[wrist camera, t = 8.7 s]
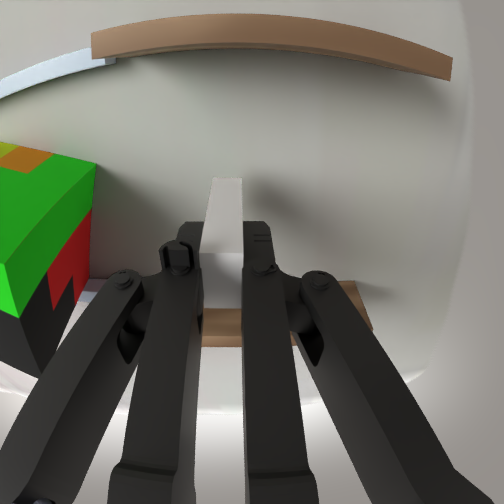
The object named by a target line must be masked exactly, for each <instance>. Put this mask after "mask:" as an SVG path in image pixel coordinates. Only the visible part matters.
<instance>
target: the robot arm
mask: <svg viewBox="0 0 504 504" xmlns="http://www.w3.org/2000/svg"><path fill="white" fill-rule="evenodd" d="M159 254H160V260H161V265H162V271H161V272H160V273H158V274H156V275H152V276H148V277H144V278H141V276H140V275H139V274H138V272H136V271H133V270H121V271H118V272H116V273H114V274H113V275H112V276H110V277H109V278H108V280H107V281H106V282H105V284H104V285H103V286H102V287H101V289H100V290H99V291H98V293H97V294H96V295H95V297H94V298H93V299H92V301H91V302H90V303H89V305H88V306H87V308H86V309H85V310H84V312H83V313H82V314H81V316H80V317H79V319H78V320H77V322H76V323H75V324H74V326H73V327H72V329H71V330H70V332H69V333H68V334H67V336H66V337H65V339H64V340H63V342H62V343H61V345H60V346H59V348H58V349H57V351H56V352H55V354H54V356H53V357H52V359H51V360H50V362H49V363H48V365H47V366H46V368H45V370H44V371H43V373H42V375H41V376H40V378H39V379H38V381H37V383H36V384H35V386H34V388H33V389H32V391H31V393H30V395H29V396H28V398H27V400H26V402H25V403H24V405H23V407H22V409H21V411H20V412H19V414H18V416H17V418H16V420H15V422H14V424H13V426H12V427H11V429H10V431H9V433H8V435H7V437H6V439H5V441H4V443H3V445H2V448H1V450H0V504H72V503H73V502H74V500H75V498H76V496H77V494H78V492H79V490H80V488H81V486H82V483H83V481H84V478H85V476H86V474H87V471H88V469H89V467H90V464H91V462H92V460H93V458H94V455H95V453H96V450H97V448H98V446H99V444H100V442H101V440H102V437H103V435H104V433H105V431H106V429H107V426H108V424H109V422H110V420H111V418H112V416H113V414H114V412H115V409H116V407H117V405H118V403H119V401H120V399H121V397H122V395H123V393H124V391H125V389H126V387H127V385H128V383H129V381H130V379H131V377H132V375H133V373H134V371H135V369H136V367H137V365H138V367H137V372H136V377H135V382H134V387H133V392H132V397H131V403H130V408H129V414H128V420H127V426H126V432H125V439H124V446H123V453H122V458H121V460H120V462H119V463H118V464H117V465H116V466H115V467H114V468H113V470H112V472H111V476H110V481H109V490H108V500H107V504H196V492H195V487H194V466H195V440H196V418H197V401H198V385H199V371H200V358H201V345H202V333H203V322H204V316H203V303H204V308H241V336H242V387H243V428H244V460H245V462H244V463H245V504H319V498H318V490H317V484H316V480H315V477H314V474H313V473H312V471H311V470H310V468H309V465H308V459H307V451H306V443H305V435H304V427H303V420H302V412H301V405H300V397H299V390H298V383H297V376H296V369H295V362H294V356H293V349H292V342H291V336H290V331H291V332H292V336H293V338H294V340H295V342H296V344H297V346H298V348H299V350H300V352H301V355H302V357H303V359H304V361H305V363H306V365H307V367H308V370H309V372H310V374H311V376H312V378H313V380H314V382H315V384H316V387H317V389H318V391H319V393H320V395H321V397H322V399H323V401H324V404H325V406H326V408H327V410H328V412H329V414H330V416H331V418H332V421H333V423H334V425H335V426H336V429H337V431H338V433H339V435H340V438H341V439H342V442H343V444H344V446H345V448H346V450H347V453H348V454H349V457H350V459H351V461H352V463H353V465H354V467H355V470H356V472H357V474H358V476H359V478H360V480H361V482H362V484H363V486H364V489H365V491H366V493H367V495H368V497H369V499H370V500H371V502H372V504H494V503H493V501H492V500H491V499H490V498H489V497H488V496H486V495H485V494H484V493H483V492H482V491H480V490H479V489H478V488H477V487H476V486H474V485H473V484H472V483H471V482H469V481H468V480H467V479H466V478H465V477H464V476H462V475H461V474H460V473H459V472H458V471H456V470H455V469H454V468H453V465H452V464H451V462H450V460H449V458H448V456H447V454H446V452H445V451H444V449H443V447H442V445H441V443H440V442H439V440H438V438H437V436H436V434H435V433H434V431H433V429H432V428H431V426H430V424H429V422H428V421H427V419H426V417H425V415H424V414H423V412H422V410H421V409H420V407H419V405H418V404H417V402H416V400H415V399H414V397H413V395H412V394H411V392H410V390H409V389H408V387H407V385H406V384H405V382H404V381H403V379H402V377H401V376H400V374H399V373H398V371H397V369H396V368H395V366H394V365H393V363H392V362H391V360H390V358H389V357H388V355H387V354H386V352H385V351H384V349H383V348H382V346H381V344H380V343H379V341H378V340H377V338H376V337H375V335H374V334H373V332H372V331H371V329H370V328H369V326H368V325H367V323H366V322H365V320H364V319H363V317H362V316H361V314H360V313H359V311H358V310H357V309H356V307H355V306H354V304H353V303H352V301H351V300H350V298H349V297H348V295H347V294H346V293H345V291H344V290H343V288H342V287H341V285H340V284H339V283H338V281H337V280H336V279H335V278H334V277H333V276H332V275H330V274H329V273H327V272H323V271H310V272H307V273H306V274H305V275H303V276H302V278H298V277H293V276H290V275H287V274H285V273H283V272H282V271H281V270H280V269H279V267H278V265H277V264H276V262H275V256H274V250H273V244H272V237H271V231H270V227H269V226H268V225H267V224H266V223H265V222H264V221H243V214H242V178H227V177H213V180H212V185H211V190H210V195H209V201H208V206H207V211H206V216H205V222H185V223H184V224H183V225H182V226H181V227H180V228H179V231H178V235H177V238H176V240H172V241H169V242H167V243H165V244H164V245H162V246H161V248H160V249H159Z"/></svg>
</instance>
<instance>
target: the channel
mask: <svg viewBox="0 0 504 504" xmlns="http://www.w3.org/2000/svg"><path fill="white" fill-rule="evenodd" d="M200 49H270V50H285V51H297V52H306V53H315V54H322V55H329V56H336V57H342V58H347V59H353V60H358V61H363V62H368V63H372V64H377V65H381V66H385V67H389V68H393V69H397V70H401V71H406V72H412V73H417V74H421V75H426V76H430V77H435V78H439V79H443V80H447V81H450V79H451V70H452V60H453V58H452V57H449V56H447V55H445V54H442V53H440V52H437V51H435V50H432V49H430V48H427V47H424V46H421V45H419V44H416V43H413V42H410V41H407V40H404V39H400V38H397V37H394V36H390V35H387V34H383V33H380V32H376V31H372V30H368V29H364V28H360V27H355V26H350V25H346V24H340V23H335V22H329V21H323V20H317V19H309V18H301V17H292V16H281V15H266V14H206V15H191V16H180V17H171V18H163V19H156V20H149V21H143V22H137V23H132V24H127V25H122V26H118V27H113V28H109V29H105V30H101V31H97V32H93V33H91V55H92V60H93V59H105V58H121V57H136V56H142V55H149V54H156V53H165V52H174V51H185V50H200ZM338 283H339V284H340V285H341V287H342V288H343V290H344V291H345V293H346V294H347V295H348V297H349V298H350V300H351V301H352V303H353V304H354V306H355V307H356V309H357V310H358V311H359V313H360V314H361V316H362V317H363V319H364V320H365V322H366V323H367V325H368V326H369V328H370V329H371V331H373V327H372V325H371V322H370V320H369V317H368V314H367V312H366V309H365V307H364V304H363V302H362V299H361V297H360V294H359V292H358V289H357V287H356V285H355V282H354V281H338ZM203 316H204V322H203V333H202V345H201V347H242V336H241V308H204V303H203ZM290 336H291V342H292V346H296V345H297V344H296V342H295V340H294V338H293V336H292V332H291V331H290Z"/></svg>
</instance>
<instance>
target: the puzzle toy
mask: <svg viewBox="0 0 504 504" xmlns="http://www.w3.org/2000/svg"><path fill="white" fill-rule="evenodd" d="M95 172H96V164H95V163H91V162H87V161H83V160H79V159H75V158H71V157H67V156H63V155H58V154H54V153H50V152H45V151H41V150H36V149H32V148H27V147H22V146H18V145H13V144H8V143H3V142H0V361H2V362H4V363H6V364H8V365H10V366H12V367H14V368H16V369H18V370H20V371H22V372H24V373H27V374H29V375H31V376H33V377H36V378H38V379H39V378H40V376H41V375H42V373H43V371H44V370H45V368H46V366H47V365H48V363H49V362H50V360H51V359H52V357H53V356H54V354H55V352H56V350H57V347H58V345H59V342H60V340H61V337H62V335H63V333H64V330H65V328H66V326H67V323H68V321H69V319H70V317H71V314H72V312H73V310H74V308H75V306H76V304H77V301H78V299H79V297H80V295H81V293H82V291H83V289H84V287H85V285H86V283H87V281H88V279H89V250H90V226H91V211H92V199H93V189H94V180H95Z"/></svg>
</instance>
